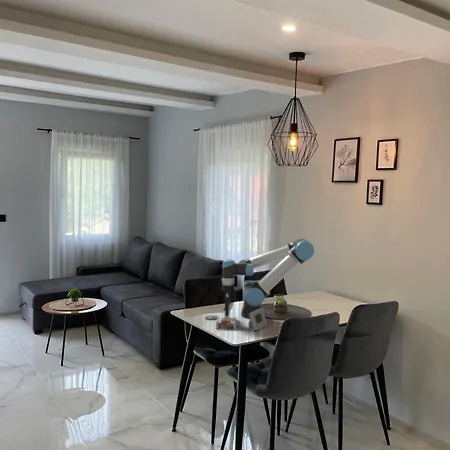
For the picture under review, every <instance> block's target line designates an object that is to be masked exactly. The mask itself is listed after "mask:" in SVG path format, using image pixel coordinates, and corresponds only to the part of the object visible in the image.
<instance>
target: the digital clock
mask: <svg viewBox="0 0 450 450" xmlns="http://www.w3.org/2000/svg"><path fill="white" fill-rule="evenodd" d="M248 319H249V321H248V329H249V330H252V331H254V332H257V331H259V330H261V329H263V328H264V327H266V326H267V325H268V322H267V319H266V315H265V311H264V308H263V309H262V308H260V309H257V310H255V311H253V312H251V313H249V318H248Z"/></svg>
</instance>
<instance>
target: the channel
mask: <svg viewBox="0 0 450 450" xmlns="http://www.w3.org/2000/svg"><path fill="white" fill-rule="evenodd" d="M215 321H216V322H215V329H216V330H218V329H219V328H220V325H221V322H220V321H221V318H220V316H218V317H217V320H215ZM232 325H233V329H232V330H236V325H237V317H235V316H234V318H233V322H231V326H232Z"/></svg>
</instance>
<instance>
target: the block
mask: <svg viewBox="0 0 450 450" xmlns="http://www.w3.org/2000/svg"><path fill="white" fill-rule="evenodd" d="M220 323H221V324H220V330H221V329H222V330H223V329H225V330H231V329H232V325H231V323H232V317H229V318H224V317H221V318H220Z"/></svg>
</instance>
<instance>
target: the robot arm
mask: <svg viewBox="0 0 450 450" xmlns="http://www.w3.org/2000/svg"><path fill="white" fill-rule="evenodd" d="M314 253H315V246H314V245H313V244H312V243H311V242H310V241H309V240H307V239H304V238H299V239H296V240H294V241H291V242H289V243H286V244H285V246H281V247H279V248H276V249H274V250H270V251H267V252H264V253H261V254H258V255H256V256H253V257H250V258H246V259H242V260H239V262H238V263H237V262H235V260H234V259H224V260H223V261H222V271H221V272H222V276H221V277H222V278H221V280H220V281H221V282H222V283H221V290H222V291H223V292H224V308H223V311H224V317H223V318H230V315H231V305H232V303H231V298H232V293H231V292H234V291H235V285H234V284H235V276H246V277H248V276H249V277H250V276H253V275H254V270H255V269H258V268H261V267H264V266H267V265H269V264H272V263H276V262H279V261H280V262H279V263H277V264H276V265H275V266H274V267H273V268H272V269H270V271H268V273H266V275H264V276H263V277H262V278H261V279H260V280H245V281H244V284H243V287H244V289H243V290H244V292H243V296H244V297H243V305H242V308H241V312H240V316H241V317H243V318H247V319H250V318H249V313H251V312H253V311H255V310H257V309H260V308H262V309H263V310H264V308H263V302H264V300H265V299H266V298H267V297H268V296H269V295H270V291H271V290H272V289H273V288H274V287H275V286H276V285H277V284H279V283H280V282H281V281H282V280H283V278H285V277H286V276H288V274H289V273H290V272H291V271H292V270H293V269H295V268H296V267H297V266H298V265H299V266H302V265H303V263H305V262H306V261H308V260H311V259H312V258H313V256H314Z"/></svg>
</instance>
